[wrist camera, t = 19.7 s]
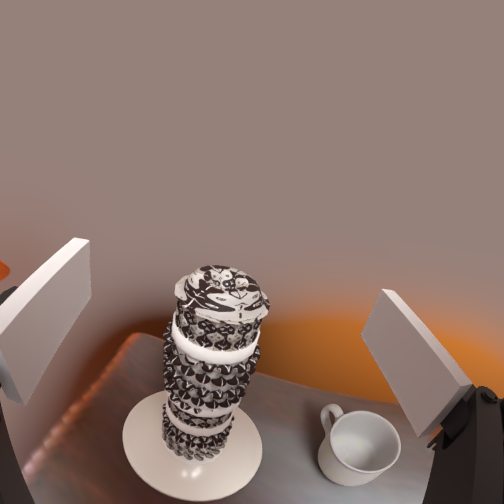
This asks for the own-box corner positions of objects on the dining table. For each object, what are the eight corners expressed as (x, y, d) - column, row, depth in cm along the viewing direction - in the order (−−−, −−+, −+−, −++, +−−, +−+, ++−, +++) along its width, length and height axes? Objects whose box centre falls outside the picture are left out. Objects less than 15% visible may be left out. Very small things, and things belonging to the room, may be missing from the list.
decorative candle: (152, 457, 28) (154, 294, 19) (166, 407, 37) (184, 247, 28) (224, 473, 29) (284, 323, 20) (229, 420, 38) (277, 268, 29)
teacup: (384, 479, 31) (414, 452, 28) (327, 505, 27) (356, 482, 24) (344, 419, 43) (365, 389, 40) (289, 432, 39) (307, 402, 36)
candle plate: (280, 486, 29) (283, 483, 29) (133, 506, 22) (132, 504, 21) (236, 389, 45) (237, 385, 45) (119, 392, 38) (119, 388, 37)
